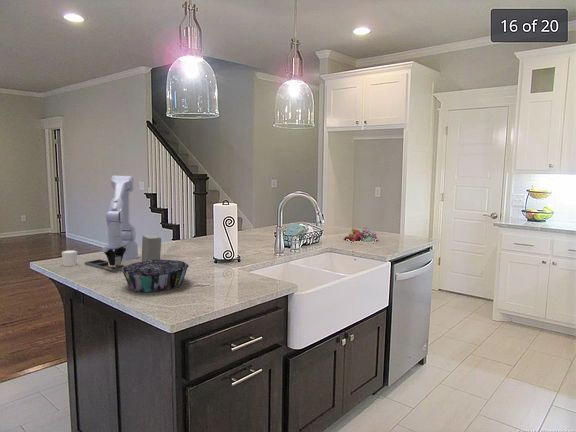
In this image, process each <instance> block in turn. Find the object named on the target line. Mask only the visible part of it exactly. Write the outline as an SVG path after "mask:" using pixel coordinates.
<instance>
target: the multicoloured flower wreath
mask: <svg viewBox="0 0 576 432" xmlns="http://www.w3.org/2000/svg"><path fill="white" fill-rule="evenodd" d="M351 232H352V233H349V234H348V236H345V237H344V238H343V240H344V239H349V240H350V241H352V242H354V241H360V240H361V241H363V242H372V241H374V242H375V239H378V237H377V232H376V231H373V230H372V231H371V230H370V229H368V227H366V226H365V227H363V228H361V229H360V230H359V229H357V228H352V229H351ZM363 238H364V239H363ZM374 238H375V239H374Z"/></svg>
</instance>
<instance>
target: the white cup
mask: <svg viewBox="0 0 576 432" xmlns="http://www.w3.org/2000/svg"><path fill="white" fill-rule="evenodd" d="M61 258H62V265H63V266H62V267H74V266H77V261H78V250H73V249H71V250H64V251H61Z"/></svg>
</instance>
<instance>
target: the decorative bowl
mask: <svg viewBox="0 0 576 432" xmlns="http://www.w3.org/2000/svg"><path fill="white" fill-rule="evenodd" d="M189 267H190V265H189V263H187V262H185V261H182V260H175V259H166V258H165V259H161V258H160V259H155V260H147V261H137V262H132V263H129V264H126V265H125V266H124V267H123V268H122V269H121V270H122V271H121V272H122V273H123V276H124V278H125V280H126V282H127V285H128V287H129V288H130V290H132V291H135V292H136V293H142V292H143V293H154V292H162V291H167V290H174V289H177V288H178V287H179V286H181V285H182V284H183V282H184V279H185V277H186V274H187V271H188V268H189Z"/></svg>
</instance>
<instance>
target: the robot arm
mask: <svg viewBox="0 0 576 432" xmlns="http://www.w3.org/2000/svg"><path fill="white" fill-rule="evenodd" d="M110 180H111V181H110V185H111V187H112V188H113V190H114V192H113V193H114V194H113V195H114V196H113V198H111V201H110V204H109V208H108V211H106V214H105V219H106V225H107V232H108V233H107V235H108V236H107V237H108V238H107V239H108V240H107V241H108V242H107V243H108V244H106V246H104V247H101V252H102V253H104V254H105V256H106V258H107V261H109V264H110V265H112V266H114V264H115V255H117V256H121V263H122V261H129V260H132V259H139V258H140V257H139V253H138V252H139V249H138V247H139V246H138V244H137V242H136V241H135V240H136V234H137V233H136V228H135V226H134V225H133V224H131V223H130V194H131V193H132V192H133V191H134V176H133V175H114V174H113V175H112V176H111V179H110Z"/></svg>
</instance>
